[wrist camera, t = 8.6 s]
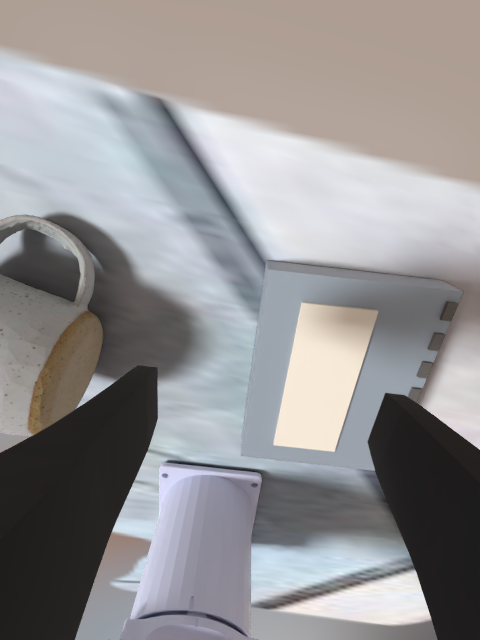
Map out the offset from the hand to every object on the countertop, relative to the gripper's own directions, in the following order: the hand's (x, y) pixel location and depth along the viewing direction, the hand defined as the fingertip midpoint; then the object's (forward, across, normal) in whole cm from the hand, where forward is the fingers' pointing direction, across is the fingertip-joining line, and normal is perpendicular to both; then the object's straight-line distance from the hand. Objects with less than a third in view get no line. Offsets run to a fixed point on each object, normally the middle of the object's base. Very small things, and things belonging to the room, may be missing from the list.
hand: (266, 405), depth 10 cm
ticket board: (+9, -5, +4) cm, 11 cm away
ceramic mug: (+10, +13, +2) cm, 17 cm away
